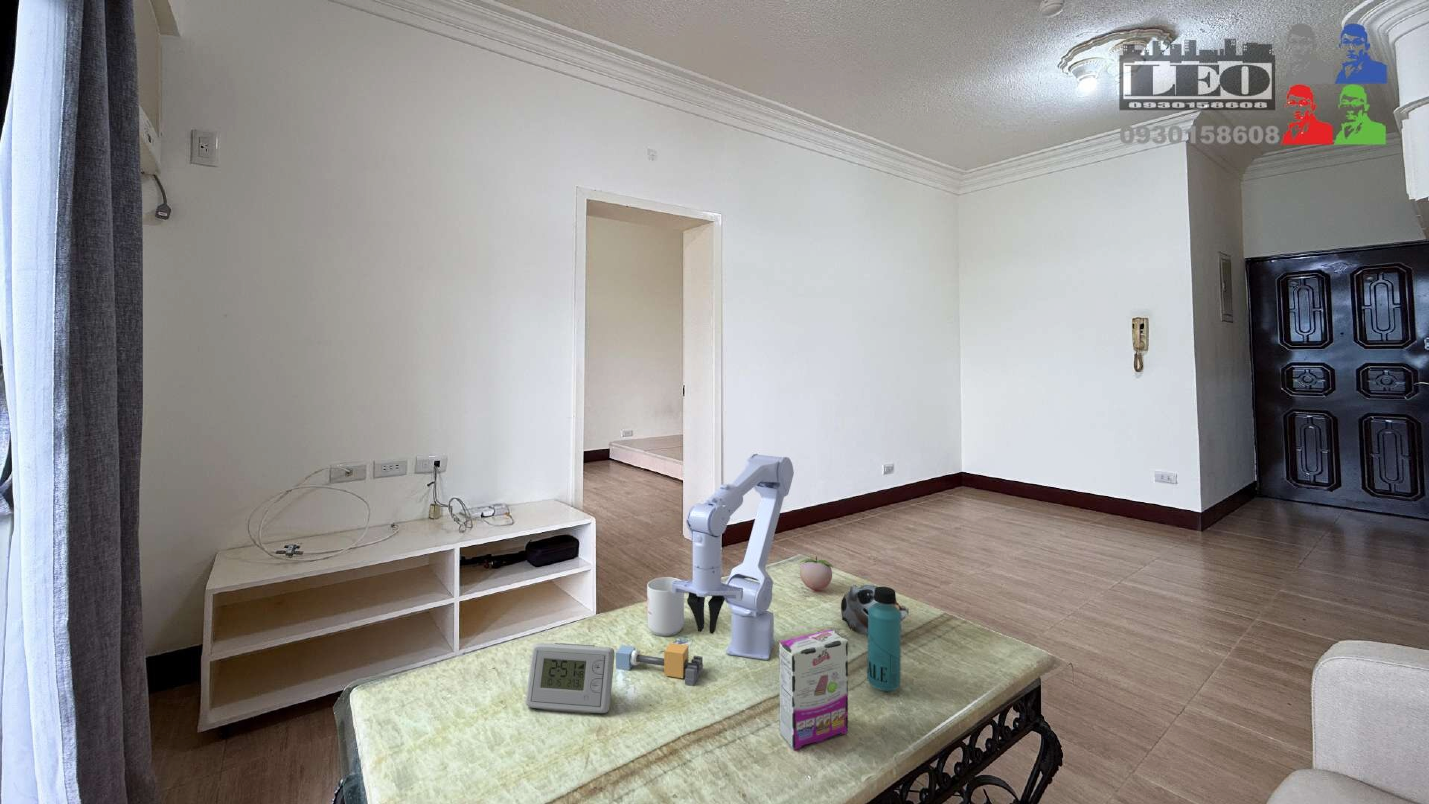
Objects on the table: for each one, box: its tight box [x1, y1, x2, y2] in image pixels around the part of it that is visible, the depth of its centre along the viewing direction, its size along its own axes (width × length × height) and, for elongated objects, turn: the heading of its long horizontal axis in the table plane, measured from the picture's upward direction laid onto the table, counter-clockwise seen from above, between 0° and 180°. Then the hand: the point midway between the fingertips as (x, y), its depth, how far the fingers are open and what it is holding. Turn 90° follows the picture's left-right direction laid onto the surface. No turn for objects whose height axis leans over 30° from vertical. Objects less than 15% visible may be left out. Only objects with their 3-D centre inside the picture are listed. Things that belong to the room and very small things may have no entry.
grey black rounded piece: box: [840, 584, 910, 636], centre depth 129 cm, size 15×12×14 cm
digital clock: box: [525, 642, 615, 715], centre depth 100 cm, size 16×9×11 cm, turn 72°
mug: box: [646, 576, 685, 637], centre depth 131 cm, size 12×9×11 cm
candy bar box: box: [778, 629, 849, 751], centre depth 91 cm, size 11×5×16 cm, turn 114°
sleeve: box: [663, 642, 689, 679], centre depth 110 cm, size 4×4×5 cm
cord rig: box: [615, 644, 704, 686], centre depth 111 cm, size 18×6×3 cm, turn 74°
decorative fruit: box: [799, 556, 834, 592], centre depth 152 cm, size 9×8×10 cm
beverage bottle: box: [866, 586, 902, 691], centre depth 104 cm, size 6×7×20 cm
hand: (706, 630), depth 108 cm, fingers closed
